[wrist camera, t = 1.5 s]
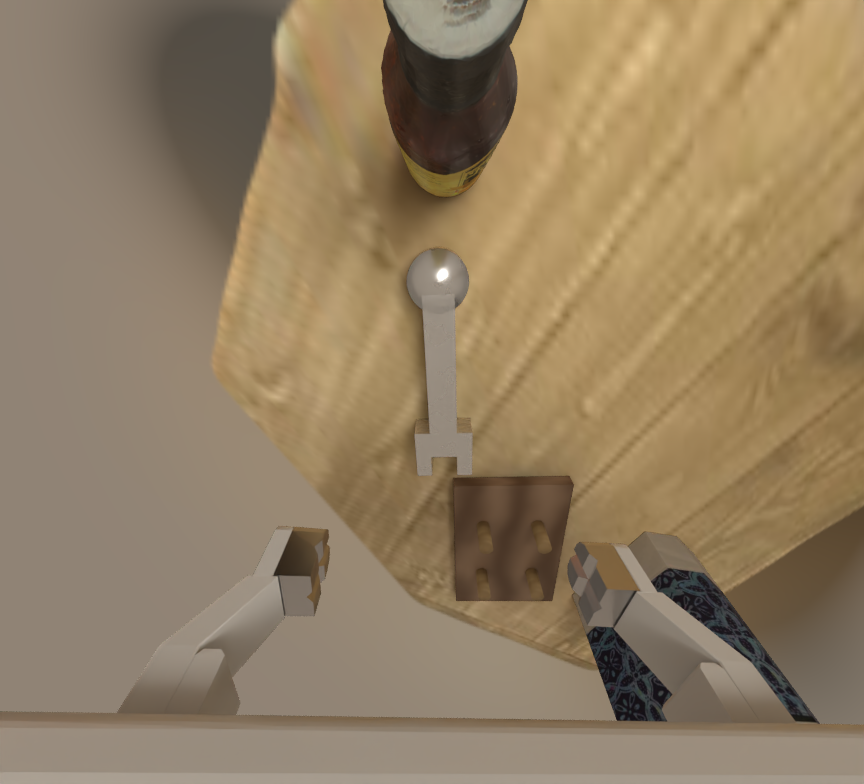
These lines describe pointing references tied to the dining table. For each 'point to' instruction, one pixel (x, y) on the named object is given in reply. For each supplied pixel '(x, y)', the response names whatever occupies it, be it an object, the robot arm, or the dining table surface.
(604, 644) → the bag
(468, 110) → the sauce bottle
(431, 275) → the ball-tipped notched rod
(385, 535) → the dining table surface
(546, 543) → the peg rack
